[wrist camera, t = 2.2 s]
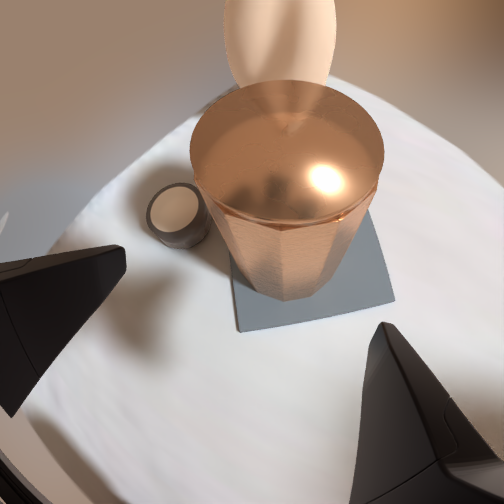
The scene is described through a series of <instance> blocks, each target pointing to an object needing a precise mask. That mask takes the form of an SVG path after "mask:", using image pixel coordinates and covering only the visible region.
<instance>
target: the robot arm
mask: <svg viewBox="0 0 504 504" xmlns="http://www.w3.org/2000/svg"><path fill="white" fill-rule="evenodd" d="M126 268H127V266H126V254H125V249H124V248H123V247H122V246H119V245H107V246H101V247H95V248H88V249H82V250H76V251H70V252H64V253H58V254H52V255H46V256H41V257H35V258H33V259H32V258H29V259H23V260H18V261H11V262H5V263H0V405H1V407H2V408H3V409H4V410H5V412H6V413H7V414H8V415H9V416H10V417H11V418H12V417H13V416H14V415H15V413H16V412H17V411H18V409H19V408H20V406H21V405H22V403H23V402H24V400H25V399H26V398H27V396H28V395H29V393H30V392H31V391H32V389H33V388H34V387H35V385H36V384H37V382H38V381H39V380H40V378H41V377H42V375H43V374H44V373H45V372H46V370H47V369H48V368H49V366H50V365H51V364H52V362H53V361H54V360H55V359H56V357H57V356H58V355H59V354H60V352H61V351H62V350H63V349H64V347H65V346H66V345H67V344H68V342H69V341H70V340H71V339H72V338H73V336H74V335H75V334H76V333H77V332H78V330H79V329H80V328H81V327H82V326H83V325H84V323H85V322H86V321H87V320H88V319H89V318H90V316H91V315H92V314H93V313H94V312H95V311H96V310H97V308H98V307H99V306H100V305H101V304H102V303H103V302H104V300H105V299H106V298H107V296H108V295H109V294H110V292H111V291H112V290H113V288H114V287H115V286H116V284H117V283H118V282H119V280H120V279H121V278H122V276H123V275H124V274H125V272H126ZM449 397H450V395H449V394H448V393H447V391H446V390H445V389H444V387H443V386H442V385H441V383H440V382H439V381H438V379H437V378H436V377H435V375H434V374H433V373H432V371H431V370H430V369H429V368H428V366H427V365H426V364H425V363H424V361H423V360H422V359H421V357H420V356H419V355H418V354H417V352H416V351H415V350H414V349H413V348H412V346H411V345H410V344H409V343H408V341H407V340H406V339H405V338H404V336H403V335H402V334H401V333H400V332H399V330H398V329H397V328H396V327H395V326H394V325H393V324H391V323H386V322H381V323H380V324H379V325H378V327H377V329H376V331H375V334H374V336H373V337H372V339H371V342H370V344H369V348H368V356H367V363H366V370H365V377H364V383H363V391H362V406H361V420H360V431H359V441H358V450H357V458H356V465H355V472H354V479H353V485H352V490H351V496H350V501H349V504H504V461H502V460H501V459H500V458H499V457H498V456H497V455H496V454H495V453H494V451H493V450H492V449H491V448H490V446H489V445H488V444H487V443H486V441H485V440H484V439H483V438H482V436H481V435H480V434H479V433H478V432H477V430H476V429H475V428H474V427H473V425H472V424H471V423H470V422H469V421H468V419H467V418H466V417H465V415H464V414H463V413H462V411H461V410H460V409H459V407H458V406H457V405H456V403H455V402H454V401H453V399H452V398H451V397H450V398H449ZM0 497H1V498H2V499H3V500H4V502H5V503H6V504H52V503H51V502H50V501H49V500H48V499H47V498H46V497H45V496H44V495H42V494H41V493H40V492H39V491H38V490H37V489H36V488H35V487H34V486H33V485H32V484H31V483H30V482H29V481H28V480H27V479H26V478H25V477H24V476H23V475H22V474H21V473H20V472H19V471H18V469H17V468H16V467H15V466H14V465H13V464H12V463H11V462H10V460H9V459H8V458H7V457H6V456H5V455H4V453H3V452H2V451H1V450H0ZM0 504H3V503H2V502H1V501H0Z"/></svg>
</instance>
